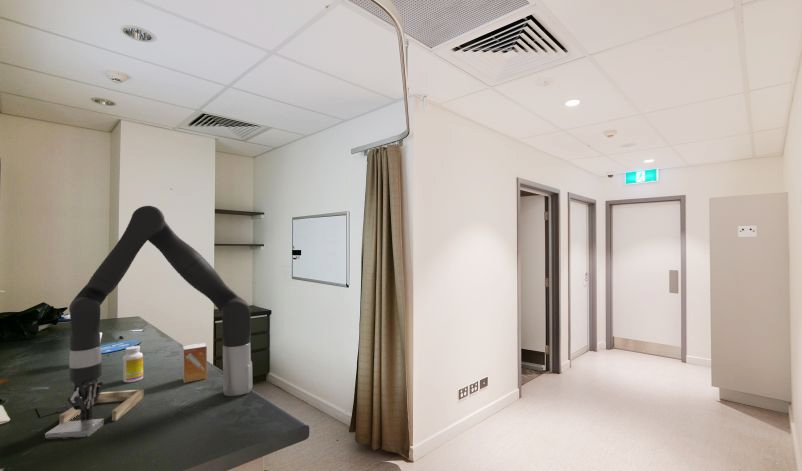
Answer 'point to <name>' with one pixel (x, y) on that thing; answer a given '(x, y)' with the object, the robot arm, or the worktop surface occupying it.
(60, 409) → the solid state drive
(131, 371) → the supplement bottle
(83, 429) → the cover plate
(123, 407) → the wooden bracket
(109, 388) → the worktop surface
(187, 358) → the small box
